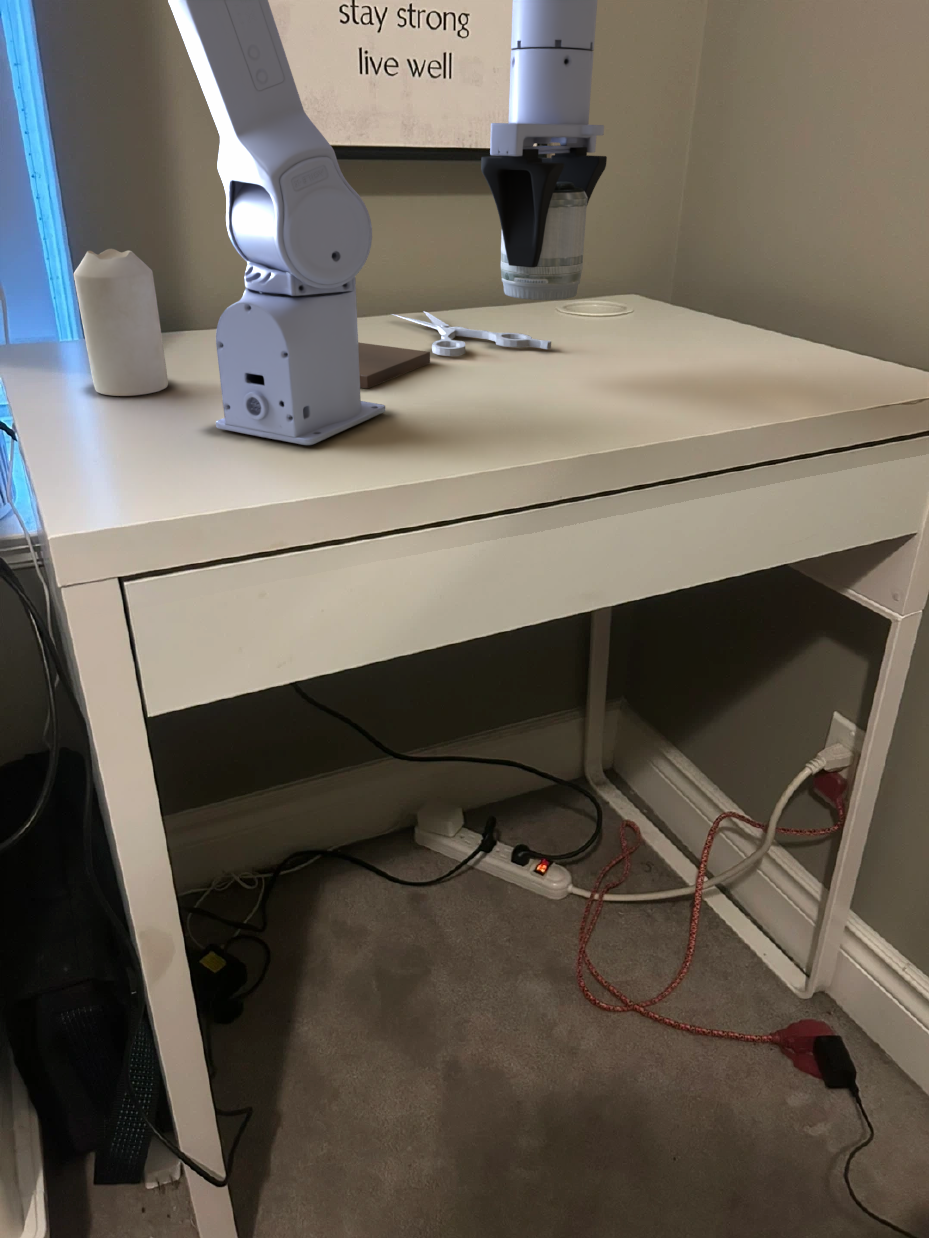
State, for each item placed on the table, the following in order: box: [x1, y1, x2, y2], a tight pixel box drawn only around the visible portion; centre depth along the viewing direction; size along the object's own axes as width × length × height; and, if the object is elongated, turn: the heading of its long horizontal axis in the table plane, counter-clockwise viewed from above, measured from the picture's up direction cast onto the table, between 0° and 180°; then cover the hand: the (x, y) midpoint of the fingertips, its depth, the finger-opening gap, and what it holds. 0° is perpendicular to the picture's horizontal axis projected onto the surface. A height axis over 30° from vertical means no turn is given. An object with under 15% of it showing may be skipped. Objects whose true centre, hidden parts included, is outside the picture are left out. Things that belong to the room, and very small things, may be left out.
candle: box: [73, 248, 169, 397], centre depth 69 cm, size 6×6×10 cm
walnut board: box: [358, 341, 431, 390], centre depth 78 cm, size 10×10×1 cm
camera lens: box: [500, 181, 588, 301], centre depth 69 cm, size 6×6×8 cm
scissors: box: [391, 310, 552, 357], centre depth 90 cm, size 11×1×20 cm
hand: (541, 261), depth 70 cm, fingers closed on camera lens, 6 cm apart
